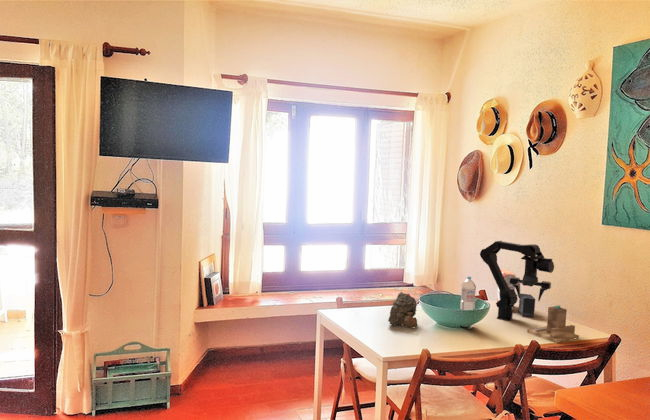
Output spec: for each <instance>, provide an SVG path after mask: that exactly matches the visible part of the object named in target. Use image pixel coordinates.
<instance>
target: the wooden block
mask: <svg viewBox="0 0 650 420" xmlns="http://www.w3.org/2000/svg"><path fill="white" fill-rule="evenodd" d="M546 320H547V321H546V326H547V332H548V333H550V332H551V328H557V327H563V326H567V325H566V324H567V323H566V321H567V308H563V307H561V305H560V304H559V305H554V306H549V307H548V309H547V319H546Z"/></svg>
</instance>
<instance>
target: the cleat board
mask: <svg viewBox="0 0 650 420" xmlns="http://www.w3.org/2000/svg"><path fill="white" fill-rule="evenodd" d="M526 330H527V331H526V333H528V334H530V335H534V336H536V337H539V338H541V337H542V339H544V338H545V339H544V340H547V339H548V340H547V341H549V340H551V341H550V342H552V341H554V342H553V343H555V342H558V343H561V342H560V341H563V342H566V341H565V340H569V341H571V340H570V339H574V338H580V335H579V334H576V333H575V330H576V325H574V324H573V325H572V324H569V325H565V326H563V327H557V328H551V332H550V333H548V332H547V325H545V326H540V327H539V326H538V327H532V328H527V329H526ZM574 340H575V339H574Z"/></svg>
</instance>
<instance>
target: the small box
mask: <svg viewBox="0 0 650 420" xmlns="http://www.w3.org/2000/svg"><path fill="white" fill-rule="evenodd" d="M518 299H519V301H518V311H517V312H518V313H519V314H520V316H522V317H525V318H534V317H535V308H536V298H535V297H534V296H533V295H532V294H527V293H520V298H519V297H518Z"/></svg>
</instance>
